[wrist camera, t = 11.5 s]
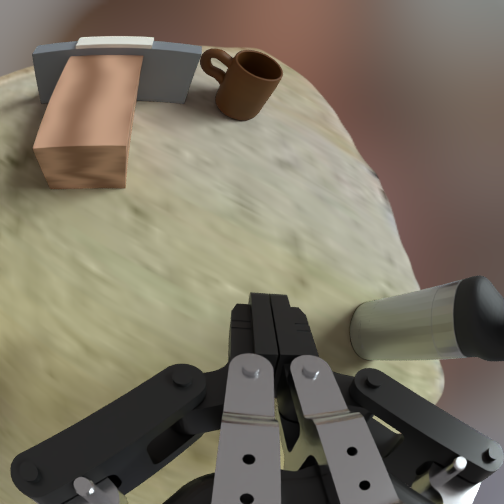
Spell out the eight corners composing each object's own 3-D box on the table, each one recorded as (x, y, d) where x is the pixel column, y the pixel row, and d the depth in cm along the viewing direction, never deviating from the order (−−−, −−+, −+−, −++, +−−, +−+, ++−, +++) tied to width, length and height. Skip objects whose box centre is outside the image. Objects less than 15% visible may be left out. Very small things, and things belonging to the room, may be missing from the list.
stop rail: (185, 75, 40) (202, 26, 30) (184, 103, 38) (202, 50, 29) (54, 74, 30) (50, 24, 21) (41, 103, 29) (31, 50, 19)
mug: (181, 102, 38) (197, 56, 30) (196, 75, 40) (213, 33, 32) (253, 128, 42) (281, 89, 33) (261, 100, 44) (286, 62, 36)
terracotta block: (136, 101, 35) (143, 55, 27) (125, 188, 32) (126, 145, 24) (73, 101, 31) (70, 56, 23) (50, 189, 28) (32, 148, 20)
